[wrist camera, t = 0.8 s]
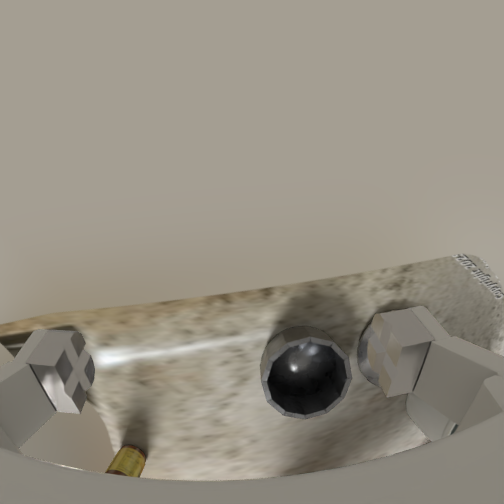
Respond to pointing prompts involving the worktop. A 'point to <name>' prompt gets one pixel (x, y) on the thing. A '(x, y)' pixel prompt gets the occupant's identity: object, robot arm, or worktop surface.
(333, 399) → the pot
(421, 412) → the utensil holder
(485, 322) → the worktop surface
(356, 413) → the worktop surface
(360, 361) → the lid
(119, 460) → the sauce bottle
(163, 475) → the worktop surface
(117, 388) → the worktop surface
